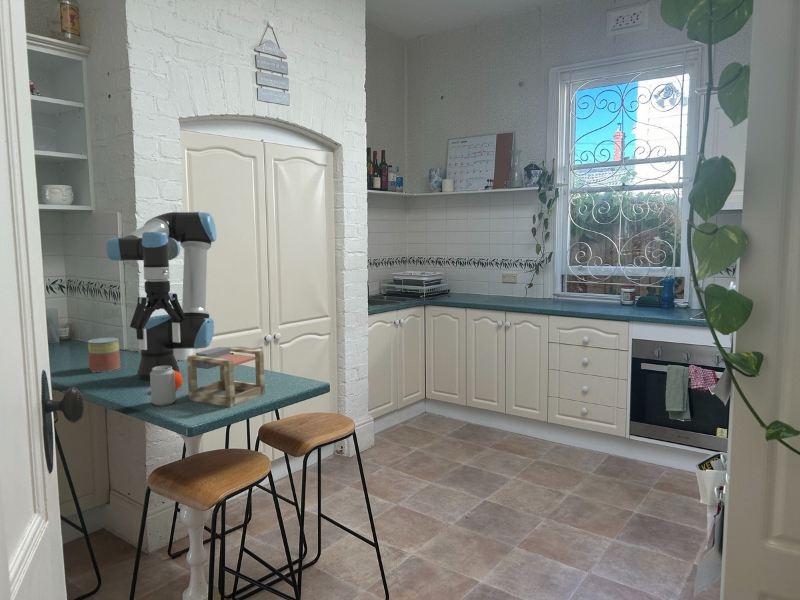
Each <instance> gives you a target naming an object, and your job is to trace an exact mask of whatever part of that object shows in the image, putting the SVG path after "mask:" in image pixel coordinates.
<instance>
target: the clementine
mask: <svg viewBox="0 0 800 600" xmlns="http://www.w3.org/2000/svg"><path fill="white" fill-rule="evenodd" d="M174 372H175V391H176V390H178V389H180V387H181V386H182V385H183V382H184V379H183V378H184V377H183V375H182V374H181V372H180V371H179V372H180V373H179V372H177V371H174Z"/></svg>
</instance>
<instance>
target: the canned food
mask: <svg viewBox="0 0 800 600" xmlns="http://www.w3.org/2000/svg"><path fill="white" fill-rule="evenodd" d="M119 341H120V339H119V338H118V337H99V338H92V339H90V340H89V339H88V340H87V348H88V349H87V350H88V361H89V371H90V370H91V371H108V370H114V369H118V368H120V367H121V358H120V342H119ZM120 369H121V368H120ZM118 370H119V369H118Z"/></svg>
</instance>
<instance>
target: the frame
mask: <svg viewBox="0 0 800 600" xmlns="http://www.w3.org/2000/svg"><path fill="white" fill-rule="evenodd" d="M224 347H225V348H230V353H240V354H241V353H242V354H249V355H250V354H251V355H255V356H254V357H256V359H255V360H254V361H255V362H254V363H255V383H253V382H246V381H239V380H235V372H234V371H235V369H234V367H235V366H234V365H233V360H228V359H220V358H212V357H204V356H196V354H195V355H194V354H193V355H189V356H187V360H186V364H187V368H186V370H187V385H188V387H187V389H188V400H189V401H192V402H193V401H194V402H199V403H206V404H211V405H216V406H221V407H229V408H232V407H234V406H238V405H239V404H242V403H244V402H247V401H249V400H253V399H254V398H257V397H259V396H262V395H265V394H266V393H265V392H266V390H265V362H264V361H265V358H264V356H265V355H264V351H263V350H258V349H257V350H255V349H247V348H240V347H229V346H224ZM196 360H201V361H208V362H216V363H224V365H220V366H219V375H220V376H219V377H220V380H218V381H216V382H212V383H208V384H206V385H203V386H200V387H198V374H197V373H198V371H197V368H196ZM264 393H265V394H264Z"/></svg>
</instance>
